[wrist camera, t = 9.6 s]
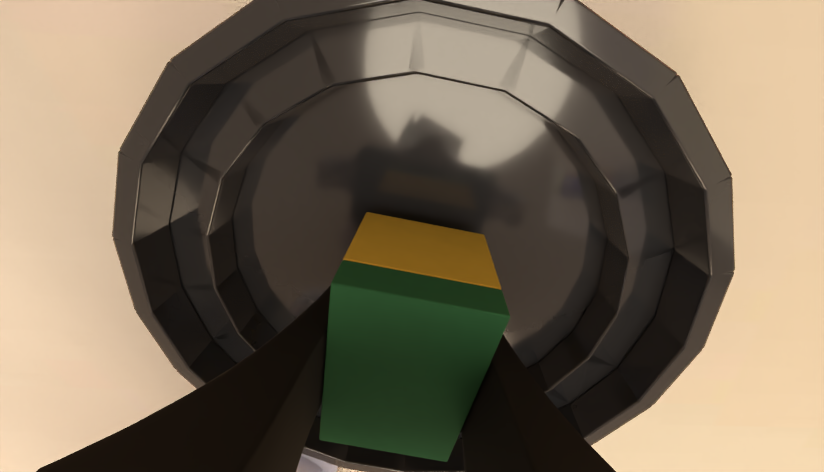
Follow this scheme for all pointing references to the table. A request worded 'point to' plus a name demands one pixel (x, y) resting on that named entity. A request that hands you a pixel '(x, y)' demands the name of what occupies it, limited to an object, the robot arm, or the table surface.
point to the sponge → (409, 336)
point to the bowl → (431, 189)
